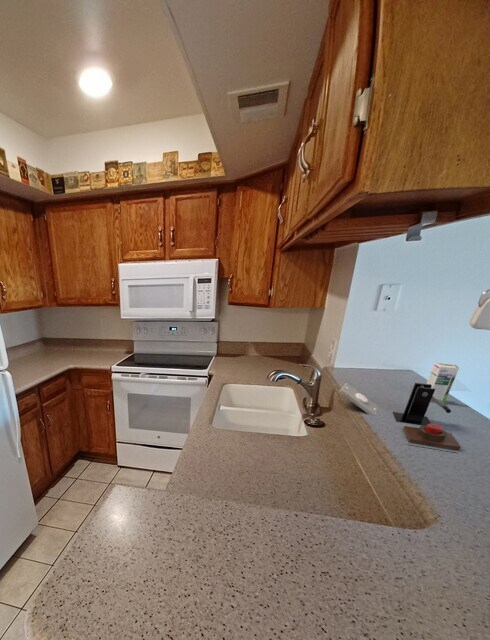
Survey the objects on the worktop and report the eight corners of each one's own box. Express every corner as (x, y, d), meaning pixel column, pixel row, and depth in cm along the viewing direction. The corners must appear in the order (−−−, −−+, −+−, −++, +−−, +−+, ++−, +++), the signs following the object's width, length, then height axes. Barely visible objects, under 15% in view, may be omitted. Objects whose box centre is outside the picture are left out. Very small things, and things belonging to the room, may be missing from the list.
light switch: (378, 414, 111) (343, 387, 115) (364, 425, 115) (330, 399, 119) (382, 406, 117) (348, 380, 121) (369, 417, 121) (336, 392, 125)
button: (438, 430, 97) (440, 424, 96) (441, 435, 94) (444, 430, 93) (423, 427, 98) (426, 422, 98) (426, 433, 96) (429, 427, 95)
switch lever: (442, 409, 107) (449, 404, 105) (446, 415, 103) (454, 409, 101) (414, 388, 108) (420, 383, 106) (417, 394, 104) (424, 388, 102)
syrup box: (425, 403, 124) (441, 366, 117) (420, 397, 129) (434, 361, 122) (443, 405, 122) (460, 367, 115) (437, 399, 127) (453, 362, 120)
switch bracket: (425, 419, 111) (440, 384, 105) (431, 429, 105) (447, 392, 99) (391, 414, 115) (404, 380, 109) (395, 424, 109) (408, 387, 102)
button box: (448, 439, 100) (453, 427, 98) (457, 453, 92) (463, 441, 90) (401, 432, 104) (406, 420, 102) (407, 445, 97) (412, 433, 95)
